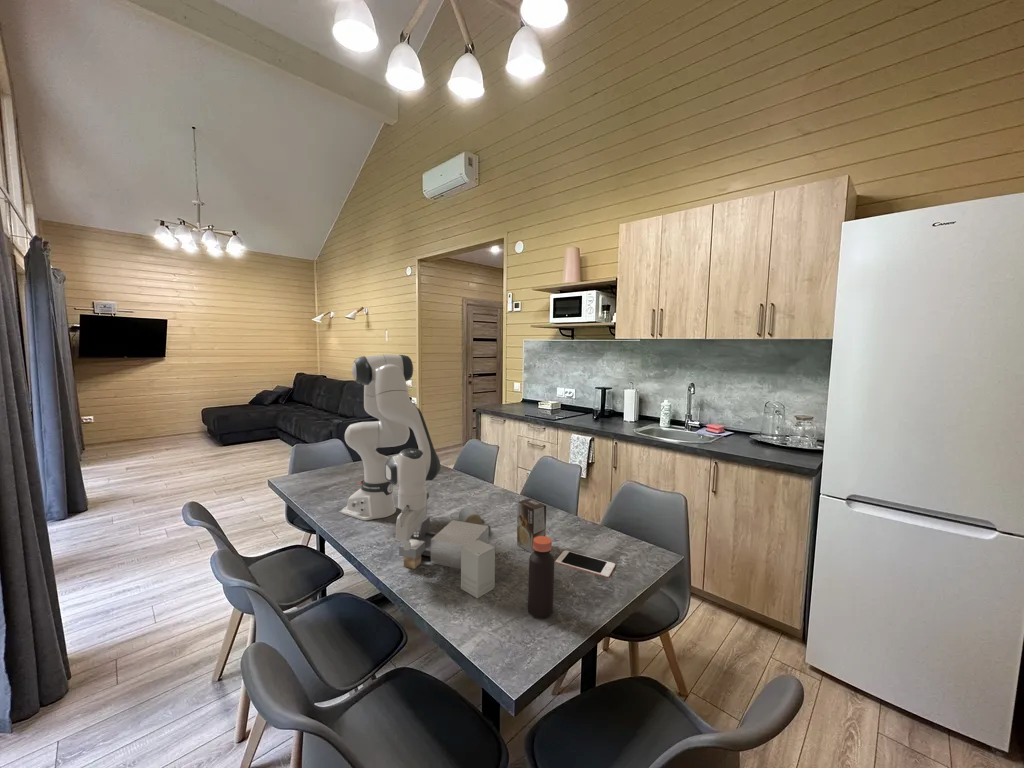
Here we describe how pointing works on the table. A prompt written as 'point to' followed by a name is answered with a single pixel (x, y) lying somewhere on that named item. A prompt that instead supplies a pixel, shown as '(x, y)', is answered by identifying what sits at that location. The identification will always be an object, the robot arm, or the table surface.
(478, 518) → the ceramic mug
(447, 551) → the housing
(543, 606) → the bottle
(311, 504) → the table surface
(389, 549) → the table surface
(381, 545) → the table surface
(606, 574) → the cell phone
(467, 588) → the supplement box
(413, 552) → the push button
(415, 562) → the block
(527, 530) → the coffee box
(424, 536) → the tray
